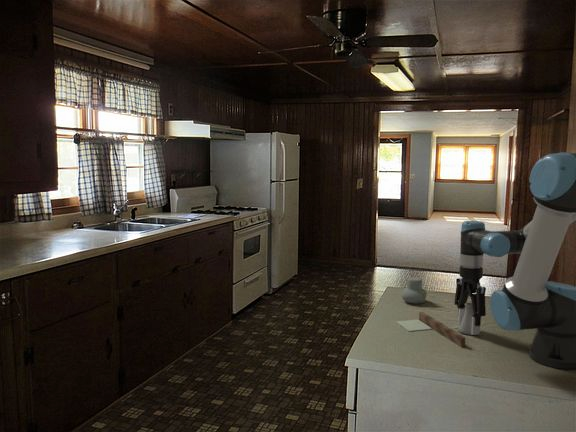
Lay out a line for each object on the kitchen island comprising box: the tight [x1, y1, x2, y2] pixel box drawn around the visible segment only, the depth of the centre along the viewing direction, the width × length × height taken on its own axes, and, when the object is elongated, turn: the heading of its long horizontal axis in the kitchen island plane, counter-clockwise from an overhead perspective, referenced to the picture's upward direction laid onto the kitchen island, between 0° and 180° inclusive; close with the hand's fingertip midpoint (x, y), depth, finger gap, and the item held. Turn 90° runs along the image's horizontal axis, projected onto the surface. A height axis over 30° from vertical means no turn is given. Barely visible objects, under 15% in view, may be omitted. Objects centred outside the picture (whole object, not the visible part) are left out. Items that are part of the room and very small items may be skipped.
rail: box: [418, 311, 466, 348], centre depth 172 cm, size 27×2×3 cm, turn 14°
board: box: [395, 319, 432, 332], centre depth 179 cm, size 10×9×1 cm
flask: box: [457, 302, 479, 336], centre depth 172 cm, size 7×7×10 cm
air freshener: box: [401, 276, 427, 305], centre depth 208 cm, size 11×8×10 cm
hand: (468, 330), depth 173 cm, fingers closed on flask, 7 cm apart
